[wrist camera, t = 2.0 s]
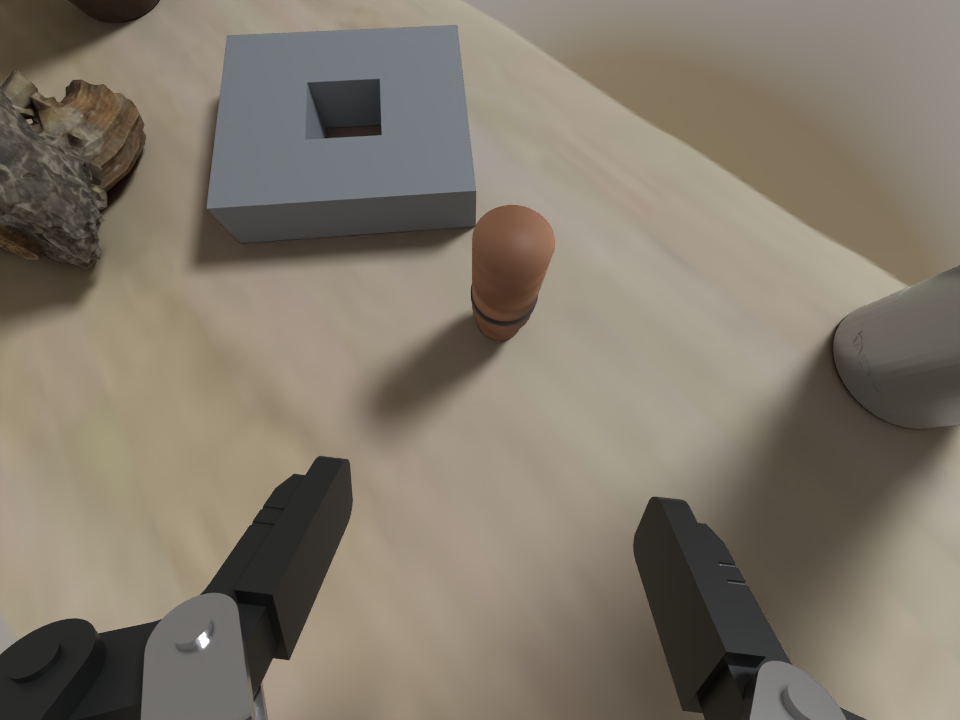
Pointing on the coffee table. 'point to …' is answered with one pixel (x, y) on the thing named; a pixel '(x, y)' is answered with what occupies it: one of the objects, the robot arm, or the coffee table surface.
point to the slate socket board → (347, 160)
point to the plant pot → (115, 9)
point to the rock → (61, 166)
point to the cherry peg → (508, 268)
